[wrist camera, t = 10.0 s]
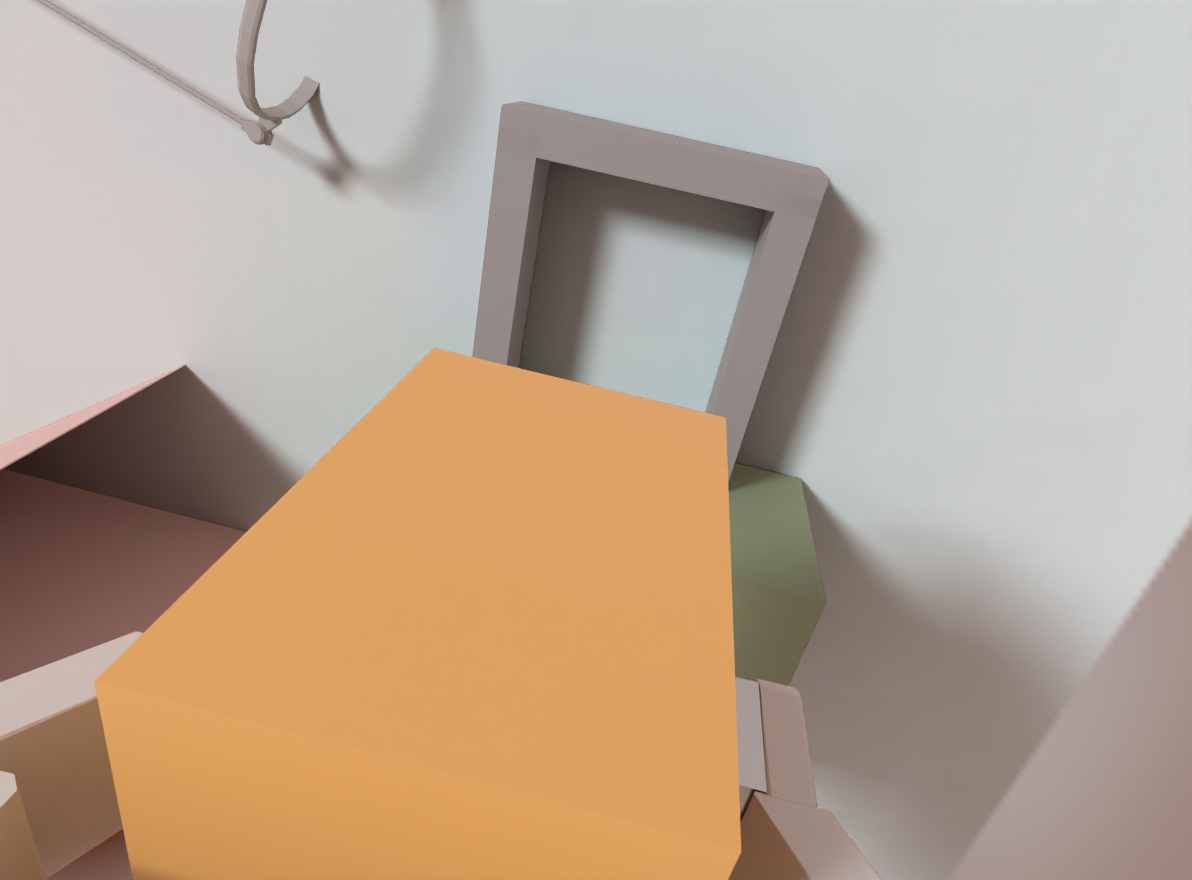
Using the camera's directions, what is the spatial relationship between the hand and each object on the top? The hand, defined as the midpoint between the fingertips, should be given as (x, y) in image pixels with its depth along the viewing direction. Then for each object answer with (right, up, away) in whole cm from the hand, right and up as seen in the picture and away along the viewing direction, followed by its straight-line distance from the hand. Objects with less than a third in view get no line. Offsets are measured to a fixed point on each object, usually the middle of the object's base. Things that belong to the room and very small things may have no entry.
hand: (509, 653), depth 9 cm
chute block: (0, +1, +2) cm, 2 cm away
